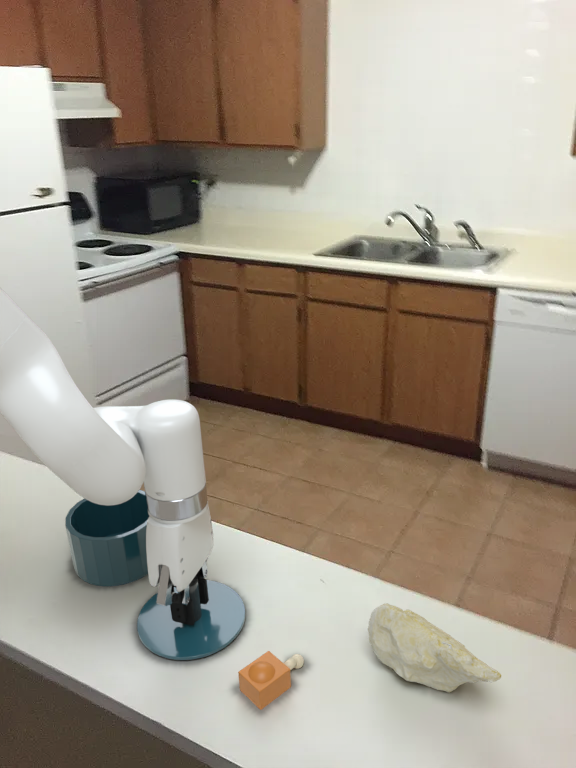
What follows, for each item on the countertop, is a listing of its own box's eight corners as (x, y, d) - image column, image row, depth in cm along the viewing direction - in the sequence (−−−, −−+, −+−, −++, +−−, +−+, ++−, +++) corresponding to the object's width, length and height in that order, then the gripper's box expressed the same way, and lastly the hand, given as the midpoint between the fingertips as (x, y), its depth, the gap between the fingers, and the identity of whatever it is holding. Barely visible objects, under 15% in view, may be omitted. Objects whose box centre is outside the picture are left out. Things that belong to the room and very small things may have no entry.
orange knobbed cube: (291, 653, 86) (290, 629, 84) (313, 671, 83) (312, 647, 81) (239, 691, 80) (237, 666, 79) (260, 711, 78) (259, 686, 76)
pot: (134, 595, 96) (127, 547, 93) (56, 577, 101) (46, 530, 97) (179, 539, 108) (173, 495, 105) (106, 525, 112) (99, 482, 109)
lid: (218, 675, 83) (214, 631, 80) (116, 648, 87) (109, 606, 84) (261, 596, 95) (258, 556, 92) (170, 577, 100) (165, 538, 97)
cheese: (356, 644, 89) (349, 659, 75) (381, 593, 90) (378, 598, 76) (464, 706, 85) (477, 734, 71) (488, 652, 86) (506, 669, 72)
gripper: (180, 460, 91) (193, 567, 99) (114, 530, 77) (134, 649, 85) (231, 468, 89) (240, 577, 96) (172, 542, 75) (187, 663, 82)
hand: (190, 610), depth 90 cm, fingers open, 3 cm apart
